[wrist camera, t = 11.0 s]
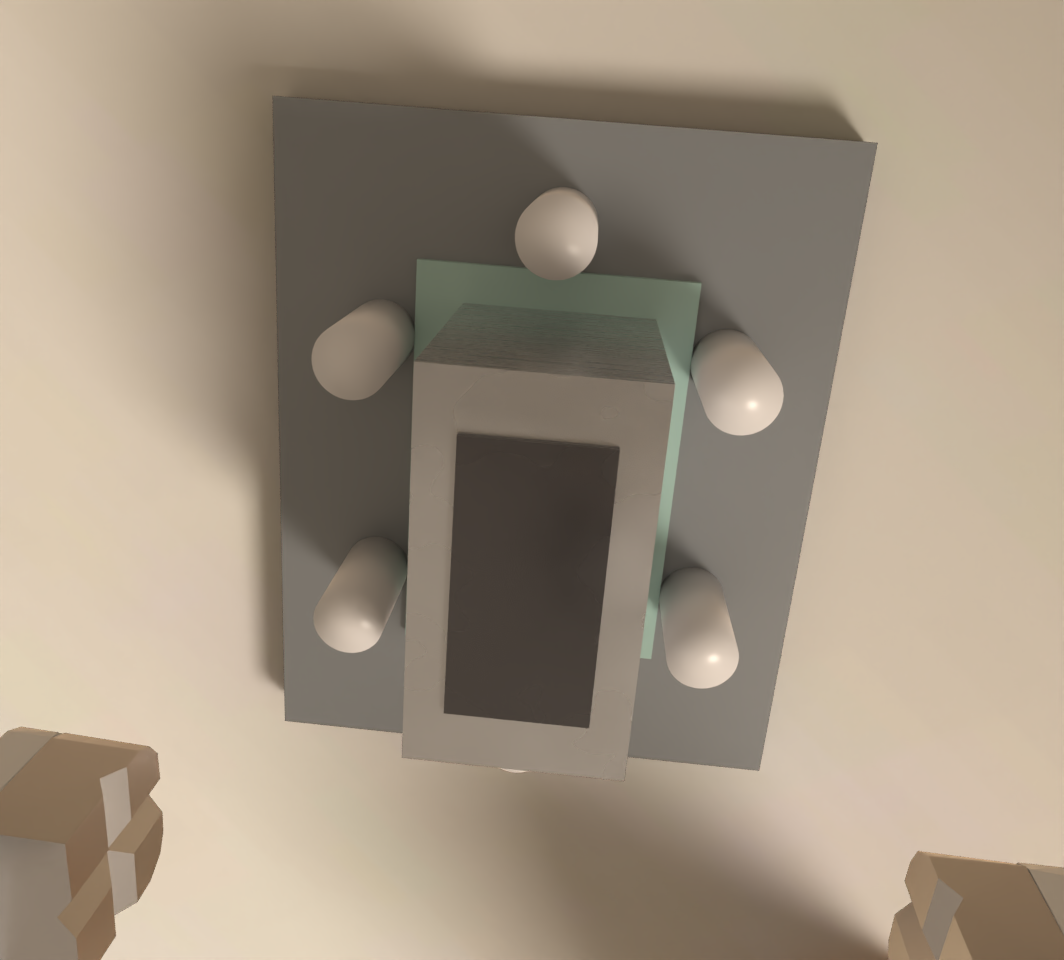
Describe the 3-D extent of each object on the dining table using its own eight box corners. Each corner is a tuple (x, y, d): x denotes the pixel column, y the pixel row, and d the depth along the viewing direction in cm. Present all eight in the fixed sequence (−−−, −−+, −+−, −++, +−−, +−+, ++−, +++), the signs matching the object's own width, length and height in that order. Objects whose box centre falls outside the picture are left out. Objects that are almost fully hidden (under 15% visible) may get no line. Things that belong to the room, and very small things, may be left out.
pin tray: (865, 142, 21) (923, 143, 17) (753, 748, 26) (778, 849, 23) (287, 97, 21) (220, 89, 18) (296, 700, 27) (246, 791, 23)
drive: (656, 319, 21) (675, 386, 16) (619, 630, 24) (623, 784, 18) (463, 302, 22) (412, 363, 16) (448, 614, 24) (401, 761, 19)
